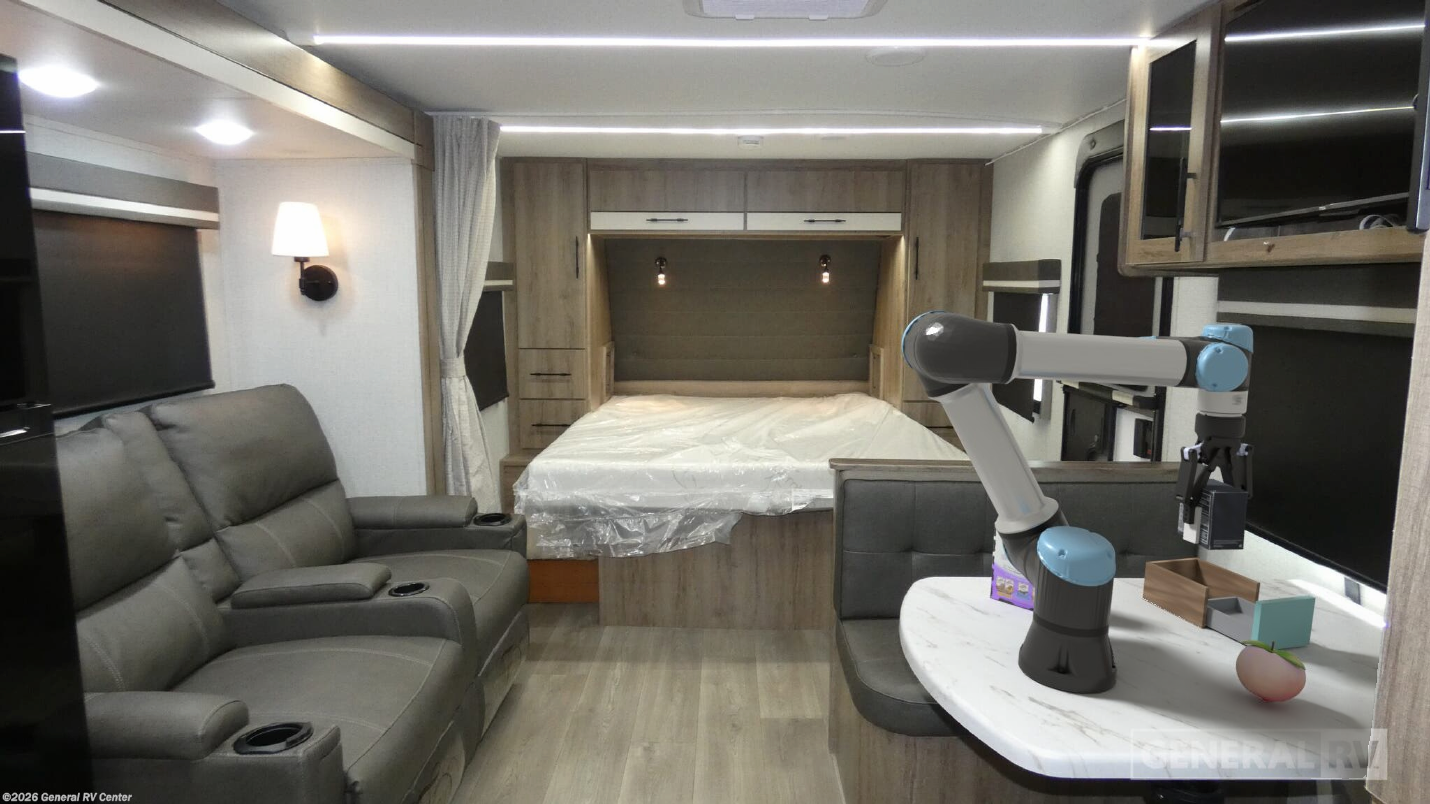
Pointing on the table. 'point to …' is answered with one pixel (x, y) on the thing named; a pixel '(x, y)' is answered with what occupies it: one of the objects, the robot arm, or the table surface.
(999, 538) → the candy box
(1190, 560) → the cubby
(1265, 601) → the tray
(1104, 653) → the robot arm
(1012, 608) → the table surface
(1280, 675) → the decorative fruit
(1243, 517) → the small box
